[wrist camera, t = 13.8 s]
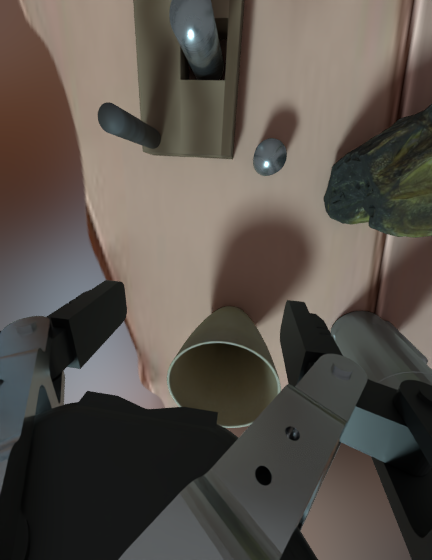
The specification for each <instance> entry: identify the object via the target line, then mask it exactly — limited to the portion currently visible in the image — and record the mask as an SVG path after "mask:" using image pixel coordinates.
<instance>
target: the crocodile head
mask: <svg viewBox="0 0 432 560" xmlns="http://www.w3.org/2000/svg"><path fill="white" fill-rule="evenodd" d="M324 202H325V208H326V212H327V213H328V215H329V216H330V218H332V219H334V220H337V221H339V222H341V223H346V224H357V223H365V222H369V227H370V228H373V229H376V230H378V231H380V232H383V233H386V234H389V235H393V236H397V237H403V236H407V237H415V238H416V237H424V236H432V104H431V105H430V106H429V107H428V108H427V109H426V110H424V111H422V112H420V113H418V114H415V115H413V116H408V117H404V118H401V119H399V120H398V121H397V122H395V123H394V124H393V125H392V126H391V127H390V128H388V129H386V130H384V131H383V132H382V133H381V134H379V135H377V136H375V137H373V138H372V139H370V140H369V141H367V142H366V143H365V144H363V145H361V146H360V147H358V148H356V149H354V150H353V151H351V152H349V153H348V154H346V155H345V156H344V157H343V158H342V159H340V160H339V161H338V162H337V163H336V164H334V165H333V167H332V171H331V177H330V180H329V184H328V188H327V191H326V194H325V196H324Z"/></svg>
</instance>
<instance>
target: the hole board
mask: <svg viewBox="0 0 432 560" xmlns="http://www.w3.org/2000/svg"><path fill="white" fill-rule="evenodd" d="M171 1H172V0H133V2H134V18H135V34H136V50H137V66H138V82H139V98H140V114H141V120H140V119H138V118H136V117H135V116H133V115H131V114H129V113H128V112H126V111H124V110H123V109H121V108H119V107H118V106H116V105H114V104H113V103H104V104H103V105H101V107H100V108H99V111H98V121H99V124H100V126H101V127H102V128H103V130H105V131H106V132H108V133H110V134H113V135H116V136H118V137H121V138H124V139H126V140H129V141H132V142H134V143H137V144H140V145H142V146H143V152H145V153H149V154H152V155H160V156H180V157H201V158H221V159H233V148H234V134H235V121H236V107H237V94H238V80H239V67H240V53H241V40H242V26H243V13H244V0H211V3H212V8H213V13H214V18H215V23H216V28H217V32H218V37H219V39H227V54H226V72H225V81H224V80H189V62H188V60H187V58H186V56H185V54H184V52H183V50H182V48H181V46H180V44H179V42H178V40H177V38H176V36H175V34H174V32H173V30H172V27H171V24H170V18H169V10H170V4H171Z"/></svg>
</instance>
